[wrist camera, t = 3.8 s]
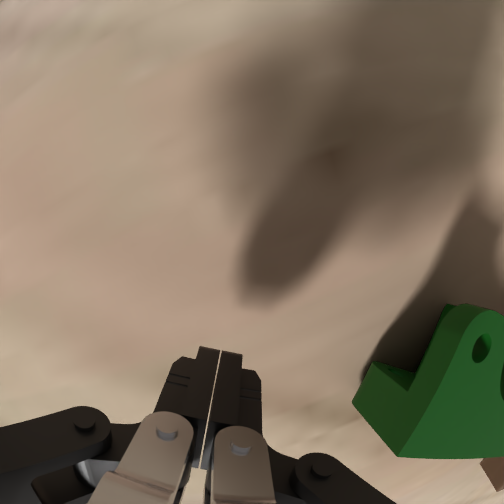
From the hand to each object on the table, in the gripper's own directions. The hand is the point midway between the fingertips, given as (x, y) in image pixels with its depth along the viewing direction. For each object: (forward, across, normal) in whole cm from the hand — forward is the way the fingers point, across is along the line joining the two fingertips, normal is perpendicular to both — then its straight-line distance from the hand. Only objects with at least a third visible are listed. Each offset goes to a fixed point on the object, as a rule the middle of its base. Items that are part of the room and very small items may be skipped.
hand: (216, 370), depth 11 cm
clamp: (+3, -12, 0) cm, 13 cm away
